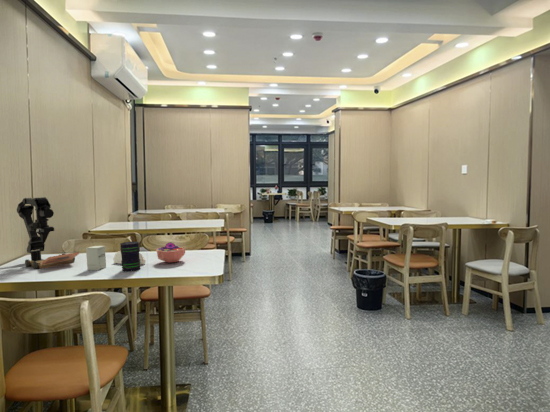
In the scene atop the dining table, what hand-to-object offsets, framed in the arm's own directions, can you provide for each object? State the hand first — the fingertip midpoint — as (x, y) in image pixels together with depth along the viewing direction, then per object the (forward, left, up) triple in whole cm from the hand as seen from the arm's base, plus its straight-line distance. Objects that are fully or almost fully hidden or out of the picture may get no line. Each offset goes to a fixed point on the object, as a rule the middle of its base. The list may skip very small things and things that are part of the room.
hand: (43, 242), depth 259 cm
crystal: (+24, +53, -14) cm, 60 cm away
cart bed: (+5, +4, -13) cm, 15 cm away
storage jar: (+43, +57, -13) cm, 72 cm away
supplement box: (+32, +37, -13) cm, 50 cm away
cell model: (+30, +78, -13) cm, 84 cm away
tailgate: (+12, +10, -11) cm, 19 cm away
